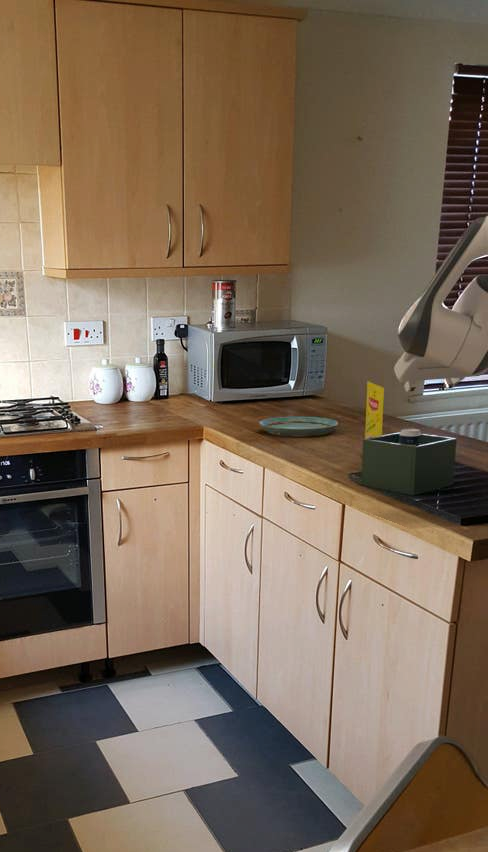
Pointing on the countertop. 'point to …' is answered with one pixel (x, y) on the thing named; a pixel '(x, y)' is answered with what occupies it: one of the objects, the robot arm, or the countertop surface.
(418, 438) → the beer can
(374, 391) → the food package
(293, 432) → the saucer
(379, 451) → the waste bin
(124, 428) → the countertop surface
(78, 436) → the countertop surface
